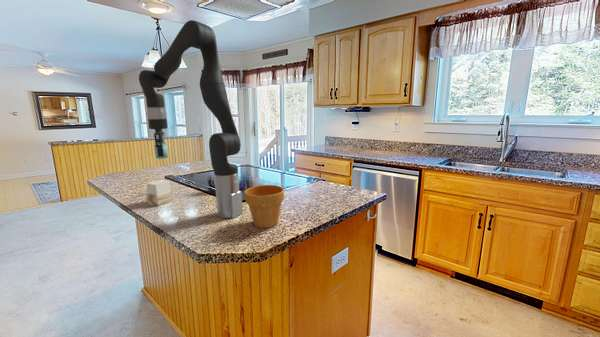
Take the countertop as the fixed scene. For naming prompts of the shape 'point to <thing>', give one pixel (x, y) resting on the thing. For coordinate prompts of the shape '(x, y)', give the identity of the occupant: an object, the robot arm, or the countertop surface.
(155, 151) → the teal cylinder
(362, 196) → the countertop surface
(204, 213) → the countertop surface
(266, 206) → the flower pot
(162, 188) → the white top block
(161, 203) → the oak base block
